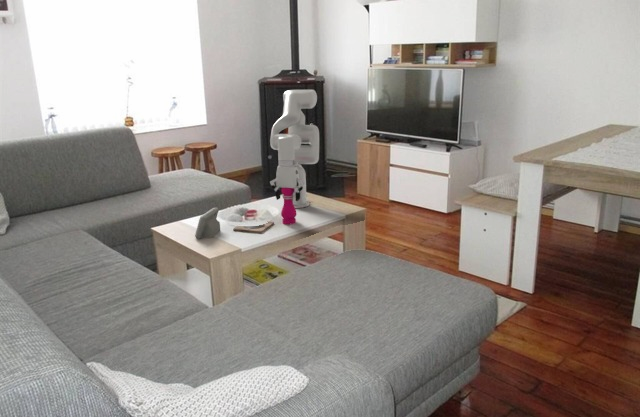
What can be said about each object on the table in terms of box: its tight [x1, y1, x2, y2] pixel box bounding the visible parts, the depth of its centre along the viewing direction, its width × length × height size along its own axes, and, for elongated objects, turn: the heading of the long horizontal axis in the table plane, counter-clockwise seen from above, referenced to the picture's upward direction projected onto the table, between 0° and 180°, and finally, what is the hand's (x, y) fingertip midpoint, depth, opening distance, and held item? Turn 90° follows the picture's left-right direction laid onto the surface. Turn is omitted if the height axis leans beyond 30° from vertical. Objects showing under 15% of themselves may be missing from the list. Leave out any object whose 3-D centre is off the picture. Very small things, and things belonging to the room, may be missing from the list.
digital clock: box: [194, 207, 221, 239], centre depth 239 cm, size 16×9×11 cm, turn 155°
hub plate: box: [233, 221, 275, 234], centre depth 247 cm, size 14×14×1 cm
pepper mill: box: [280, 188, 297, 226], centre depth 251 cm, size 7×7×20 cm
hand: (288, 199), depth 250 cm, fingers open, 9 cm apart
